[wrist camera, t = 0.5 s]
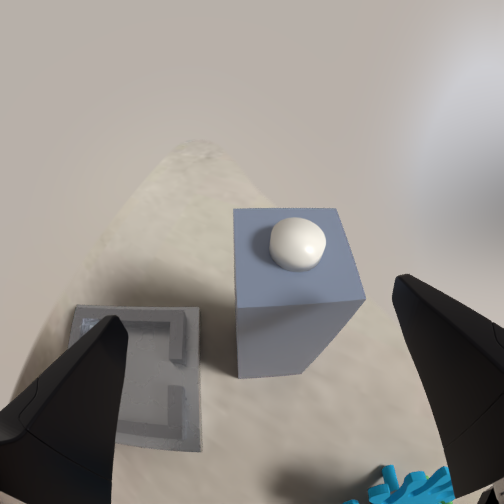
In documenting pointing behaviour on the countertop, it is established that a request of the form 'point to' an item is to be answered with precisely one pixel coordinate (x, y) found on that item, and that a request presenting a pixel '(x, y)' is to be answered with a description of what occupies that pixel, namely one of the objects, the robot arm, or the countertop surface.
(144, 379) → the grey square tray
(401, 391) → the countertop surface
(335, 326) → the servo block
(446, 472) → the gear
